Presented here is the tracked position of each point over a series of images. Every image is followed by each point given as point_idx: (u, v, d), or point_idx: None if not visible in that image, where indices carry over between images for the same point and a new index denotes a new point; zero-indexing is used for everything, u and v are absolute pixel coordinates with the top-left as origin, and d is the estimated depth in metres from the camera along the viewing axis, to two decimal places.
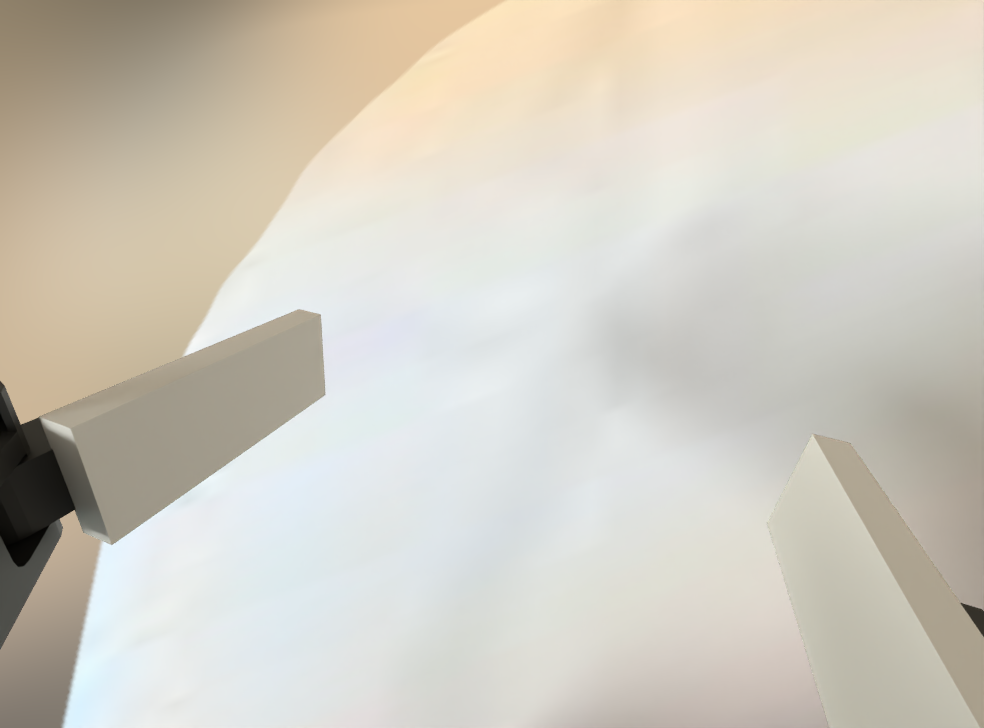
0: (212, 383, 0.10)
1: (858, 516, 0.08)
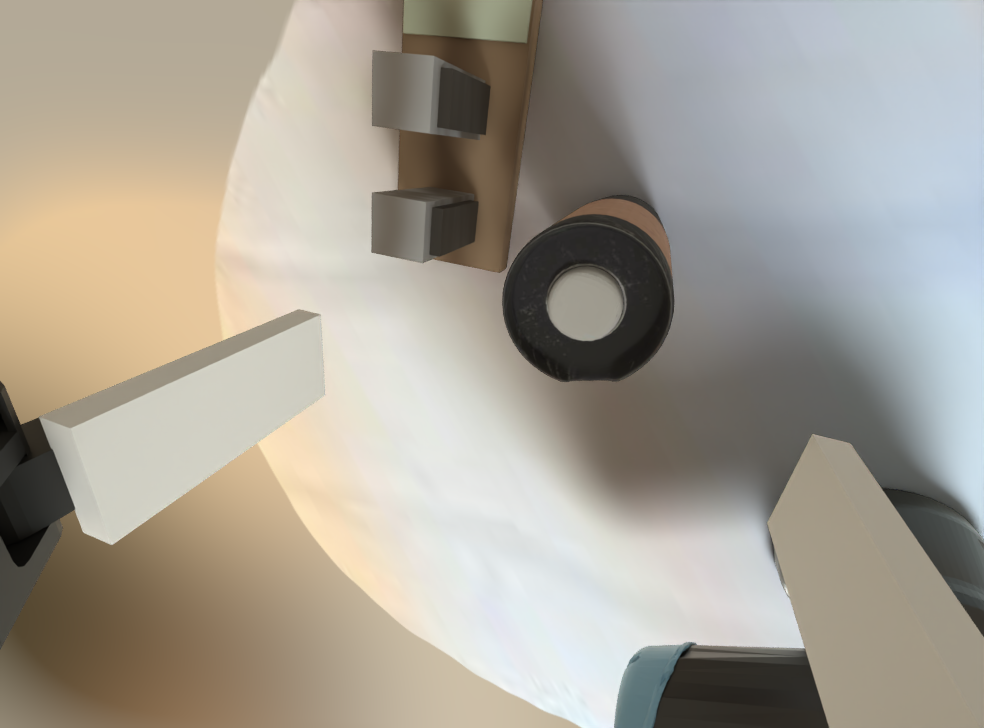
0: (212, 383, 0.10)
1: (858, 516, 0.08)
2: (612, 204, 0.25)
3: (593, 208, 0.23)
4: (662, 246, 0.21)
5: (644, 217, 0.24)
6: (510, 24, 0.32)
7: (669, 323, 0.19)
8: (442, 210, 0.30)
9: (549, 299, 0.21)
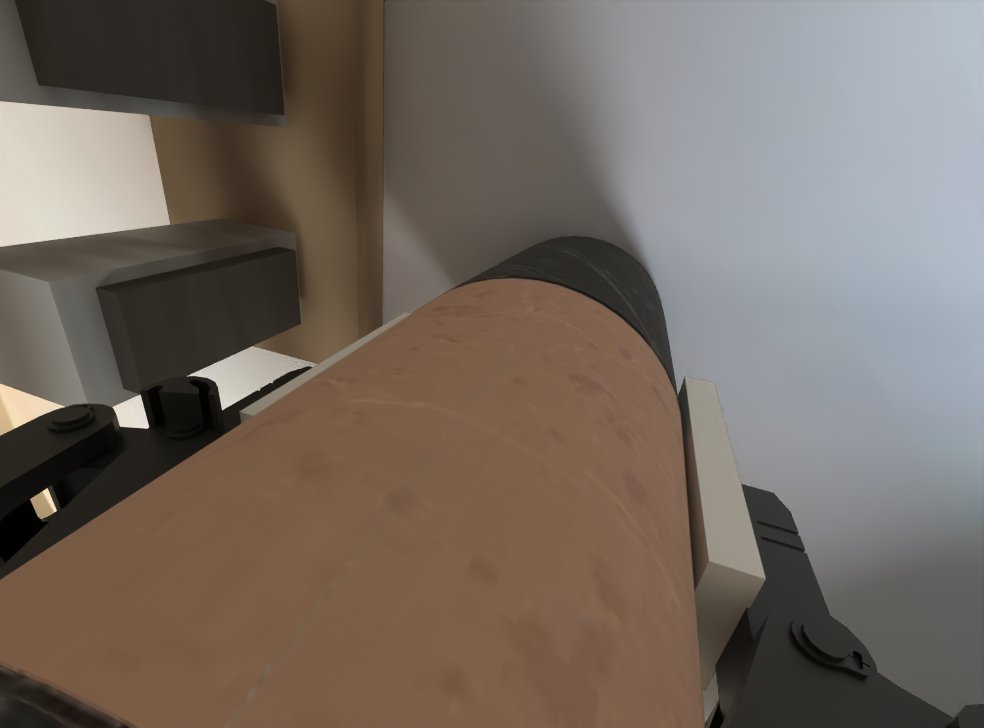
0: None
1: (691, 427, 0.10)
2: (466, 343, 0.06)
3: (324, 413, 0.05)
4: None
5: (583, 409, 0.06)
6: None
7: None
8: (117, 296, 0.12)
9: None
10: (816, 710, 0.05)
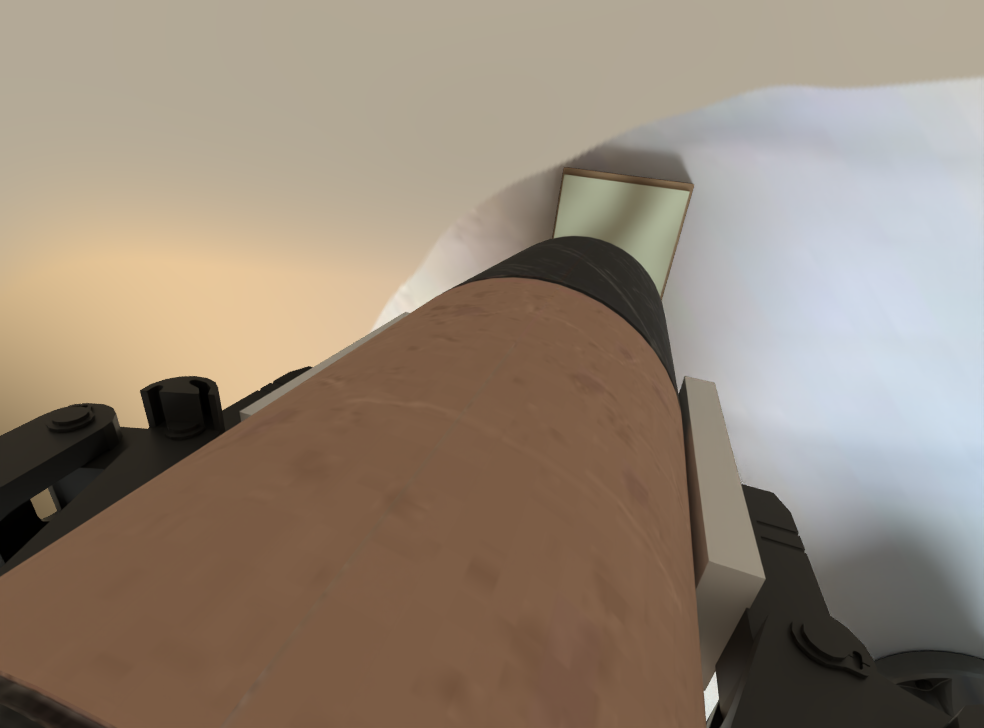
0: None
1: (691, 427, 0.10)
2: (466, 342, 0.06)
3: (322, 413, 0.05)
4: None
5: (583, 409, 0.06)
6: None
7: None
8: None
9: None
10: (814, 709, 0.05)
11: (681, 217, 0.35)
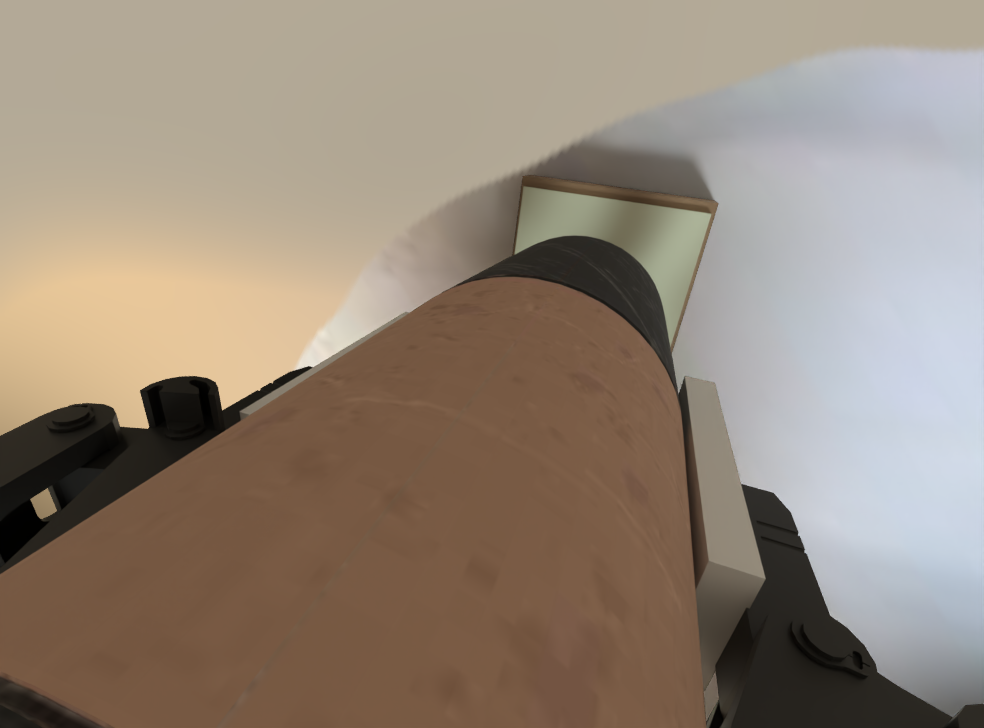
0: None
1: (691, 427, 0.10)
2: (466, 342, 0.06)
3: (321, 412, 0.05)
4: None
5: (583, 408, 0.06)
6: None
7: None
8: None
9: None
10: (815, 711, 0.05)
11: (698, 252, 0.23)
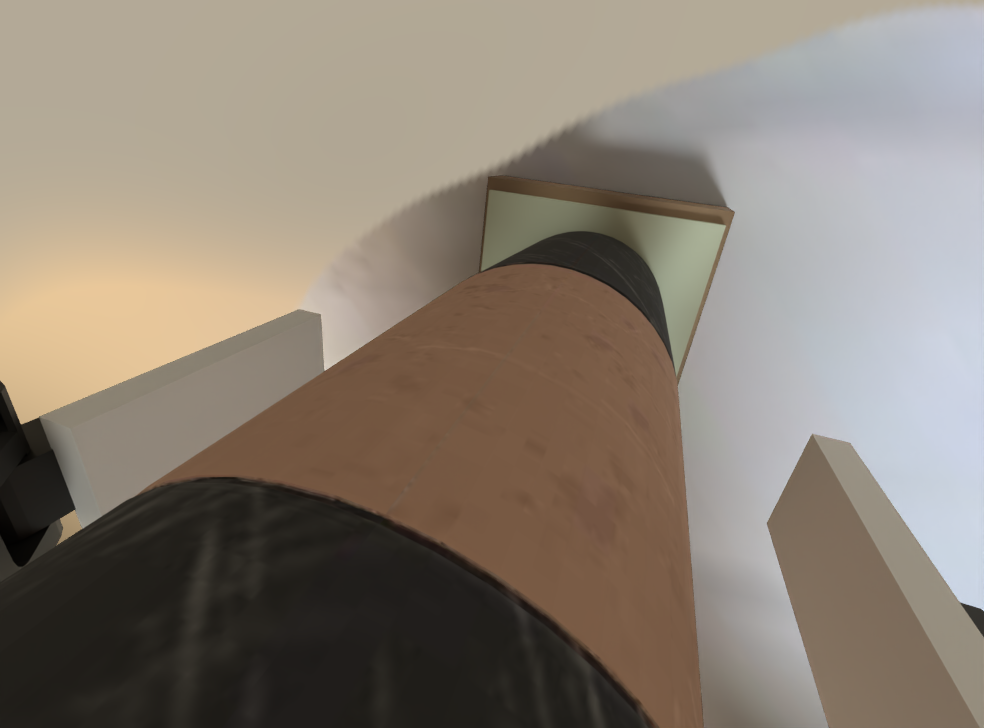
0: (212, 383, 0.10)
1: (858, 516, 0.08)
2: (501, 310, 0.08)
3: (401, 355, 0.06)
4: (655, 569, 0.05)
5: (597, 360, 0.07)
6: None
7: None
8: None
9: None
10: None
11: (708, 273, 0.18)
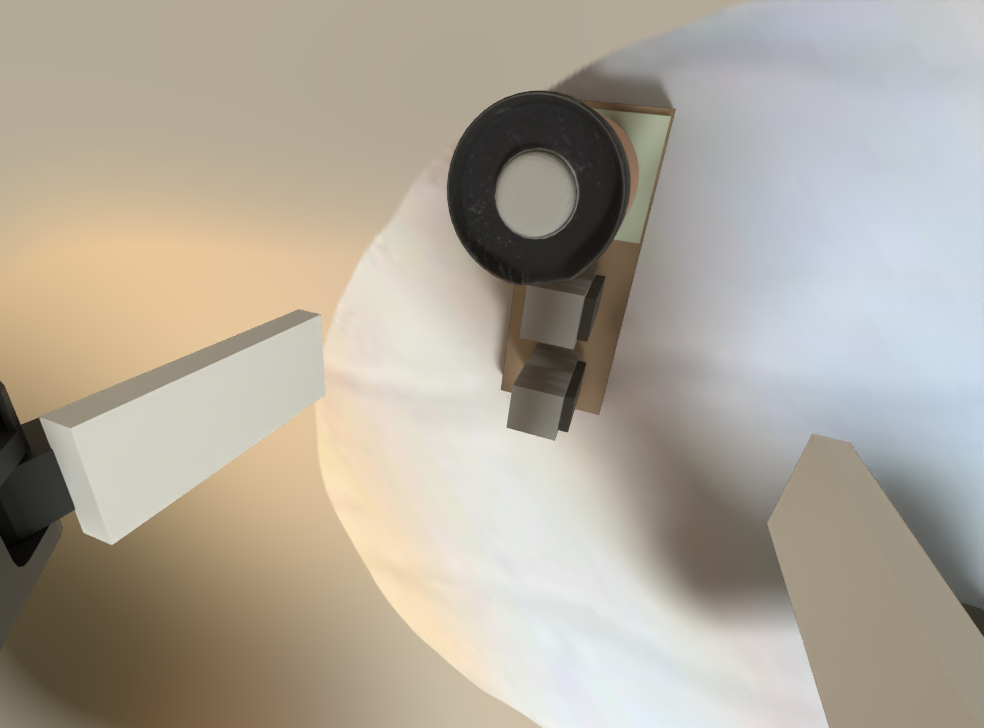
0: (212, 383, 0.10)
1: (858, 516, 0.08)
2: None
3: None
4: (619, 135, 0.20)
5: None
6: (626, 228, 0.36)
7: (623, 205, 0.17)
8: (574, 399, 0.35)
9: (497, 191, 0.19)
10: None
11: (662, 145, 0.33)
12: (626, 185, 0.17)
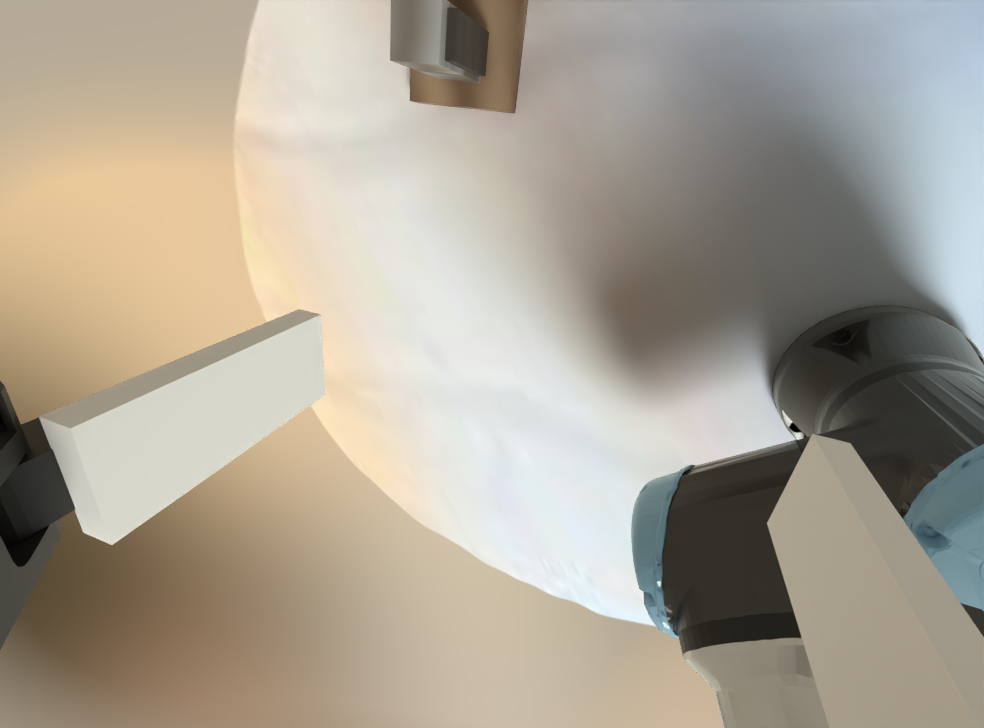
0: (212, 383, 0.10)
1: (858, 516, 0.08)
2: None
3: None
4: None
5: None
6: None
7: None
8: (457, 9, 0.33)
9: None
10: None
11: None
12: None
